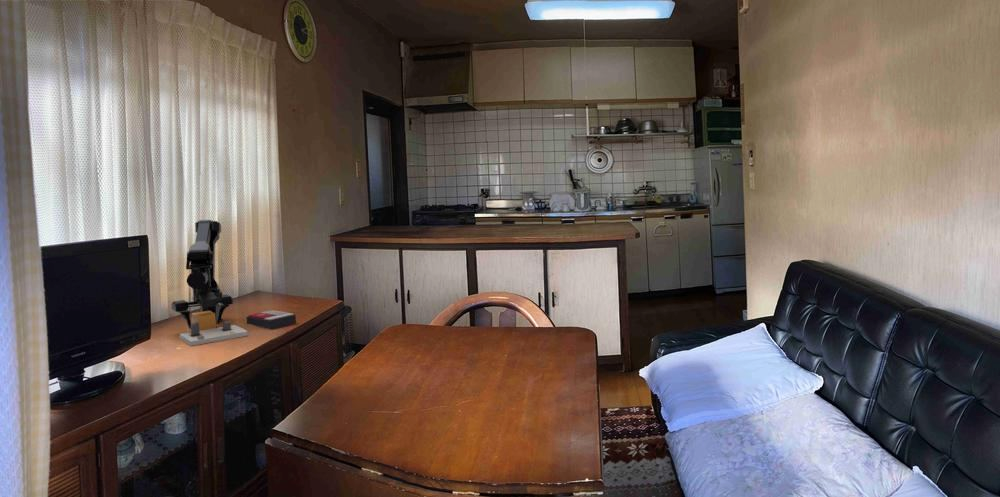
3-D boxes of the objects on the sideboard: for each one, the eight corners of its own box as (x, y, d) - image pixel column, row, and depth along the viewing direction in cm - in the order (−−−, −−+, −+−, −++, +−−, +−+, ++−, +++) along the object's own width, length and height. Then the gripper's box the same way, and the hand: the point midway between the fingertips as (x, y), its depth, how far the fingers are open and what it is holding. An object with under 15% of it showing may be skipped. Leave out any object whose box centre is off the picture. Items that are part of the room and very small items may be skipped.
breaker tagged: (221, 333, 200) (221, 322, 200) (229, 332, 202) (228, 321, 202) (224, 335, 199) (223, 323, 198) (232, 333, 200) (231, 322, 200)
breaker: (190, 335, 193) (189, 323, 193) (198, 333, 195) (197, 322, 195) (192, 336, 192) (191, 324, 191) (200, 335, 193) (200, 323, 193)
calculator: (271, 309, 223) (295, 312, 215) (272, 320, 224) (296, 323, 215) (245, 314, 214) (269, 318, 206) (246, 326, 215) (270, 330, 206)
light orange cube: (192, 329, 206) (191, 313, 205) (210, 326, 210) (209, 310, 209) (198, 333, 201) (196, 316, 201) (216, 329, 205) (215, 313, 205)
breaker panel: (180, 338, 195) (179, 332, 194) (235, 328, 207) (234, 323, 207) (190, 346, 186) (190, 339, 186) (247, 335, 198) (247, 329, 198)
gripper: (179, 290, 191) (182, 336, 193) (237, 283, 204) (239, 326, 206) (169, 285, 199) (172, 329, 201) (226, 279, 212) (228, 320, 214)
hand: (204, 326), depth 205 cm, fingers open, 9 cm apart
